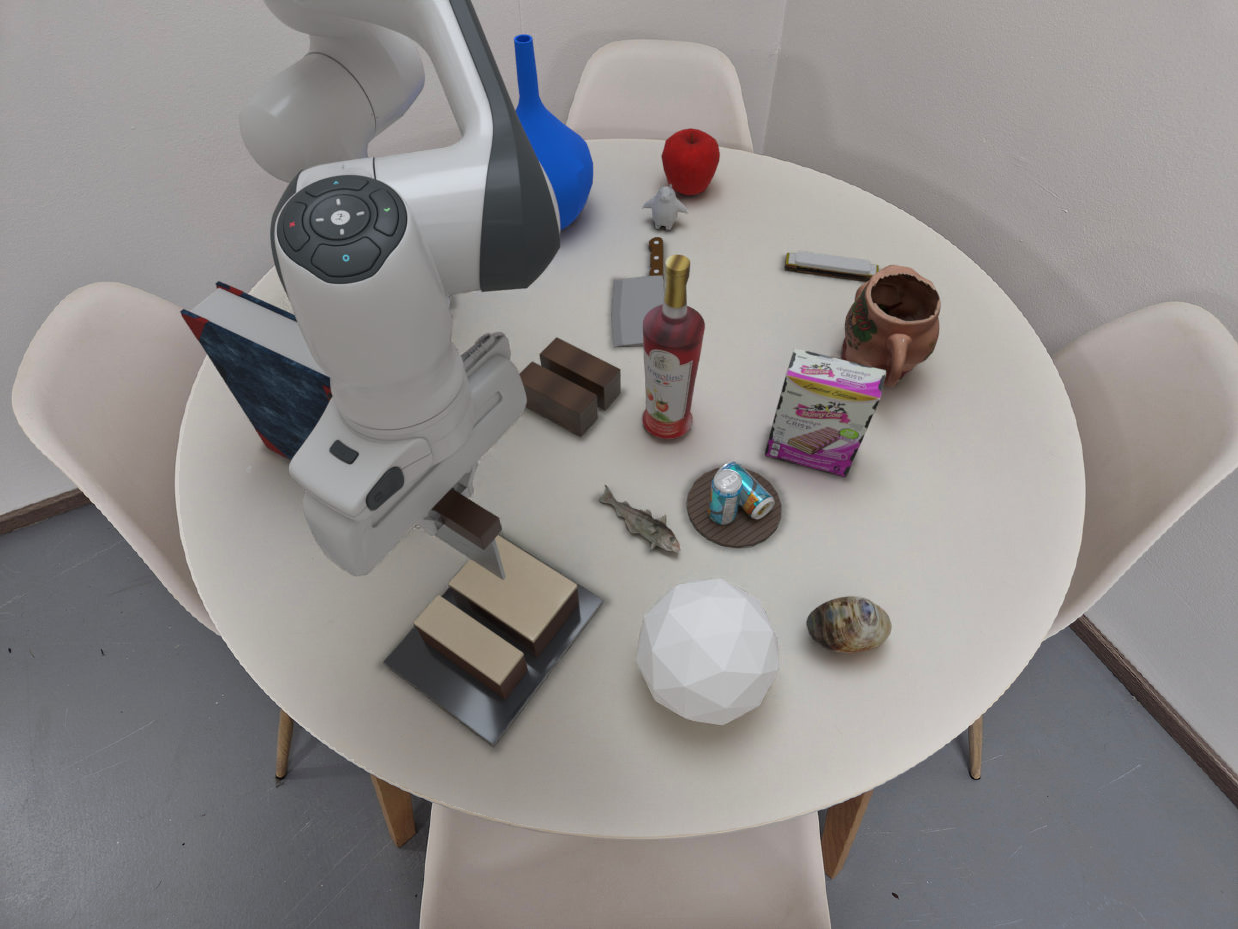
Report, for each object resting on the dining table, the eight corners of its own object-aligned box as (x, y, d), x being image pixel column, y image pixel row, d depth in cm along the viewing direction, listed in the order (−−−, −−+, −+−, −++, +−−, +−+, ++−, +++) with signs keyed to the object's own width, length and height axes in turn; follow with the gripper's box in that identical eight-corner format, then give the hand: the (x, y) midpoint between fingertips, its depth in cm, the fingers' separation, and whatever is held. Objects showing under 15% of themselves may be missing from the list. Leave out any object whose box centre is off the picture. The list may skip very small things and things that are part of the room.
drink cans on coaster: (667, 497, 98) (670, 461, 92) (738, 453, 102) (746, 415, 96) (728, 565, 92) (736, 531, 86) (801, 515, 96) (813, 479, 90)
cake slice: (423, 640, 86) (413, 622, 82) (446, 613, 88) (438, 594, 84) (505, 699, 82) (499, 683, 78) (528, 670, 84) (523, 652, 80)
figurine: (638, 229, 130) (639, 189, 123) (645, 208, 133) (646, 168, 126) (685, 235, 128) (688, 195, 122) (690, 214, 132) (694, 173, 125)
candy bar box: (763, 458, 102) (783, 374, 88) (771, 430, 104) (792, 345, 91) (847, 480, 99) (881, 398, 86) (853, 451, 102) (887, 367, 89)
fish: (675, 567, 93) (697, 533, 93) (664, 565, 90) (687, 529, 90) (596, 508, 100) (617, 476, 99) (583, 504, 96) (604, 471, 96)
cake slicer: (414, 534, 72) (390, 481, 65) (431, 516, 73) (409, 462, 66) (496, 588, 69) (480, 538, 61) (513, 569, 70) (499, 517, 62)
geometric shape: (709, 659, 91) (779, 568, 84) (745, 769, 78) (830, 672, 72) (603, 630, 86) (669, 531, 79) (624, 743, 73) (704, 637, 67)
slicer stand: (518, 402, 107) (513, 378, 103) (559, 361, 112) (556, 336, 108) (581, 437, 104) (579, 414, 100) (620, 393, 108) (620, 369, 104)
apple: (656, 203, 134) (659, 146, 125) (664, 171, 139) (666, 114, 130) (713, 209, 133) (719, 152, 124) (718, 176, 138) (724, 119, 129)
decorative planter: (928, 427, 104) (965, 356, 93) (838, 422, 105) (864, 351, 94) (907, 323, 116) (938, 249, 105) (826, 320, 117) (848, 245, 105)
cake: (384, 664, 85) (370, 644, 81) (498, 535, 95) (491, 511, 90) (494, 746, 80) (486, 731, 76) (603, 601, 90) (602, 580, 85)
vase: (505, 263, 125) (476, 83, 100) (476, 199, 135) (443, 21, 110) (610, 236, 128) (607, 56, 104) (574, 176, 138) (563, -1, 114)
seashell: (877, 613, 89) (897, 582, 82) (888, 661, 85) (910, 632, 79) (795, 616, 88) (809, 584, 82) (803, 663, 85) (818, 635, 79)
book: (444, 488, 99) (398, 354, 79) (411, 528, 96) (354, 399, 75) (298, 416, 106) (221, 276, 86) (262, 451, 103) (173, 314, 83)
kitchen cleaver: (614, 237, 127) (675, 235, 126) (615, 242, 128) (675, 240, 127) (609, 344, 113) (677, 343, 112) (610, 349, 114) (677, 347, 113)
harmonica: (783, 270, 123) (786, 260, 122) (785, 258, 125) (787, 248, 123) (876, 283, 121) (879, 273, 120) (876, 270, 123) (880, 261, 121)
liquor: (632, 437, 104) (634, 276, 81) (650, 398, 108) (656, 234, 85) (684, 452, 102) (701, 292, 79) (700, 412, 106) (720, 249, 83)
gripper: (471, 304, 60) (496, 416, 71) (267, 484, 50) (333, 580, 61) (535, 336, 58) (550, 446, 69) (335, 530, 48) (390, 621, 59)
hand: (447, 510), depth 65 cm, fingers closed on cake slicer, 2 cm apart
